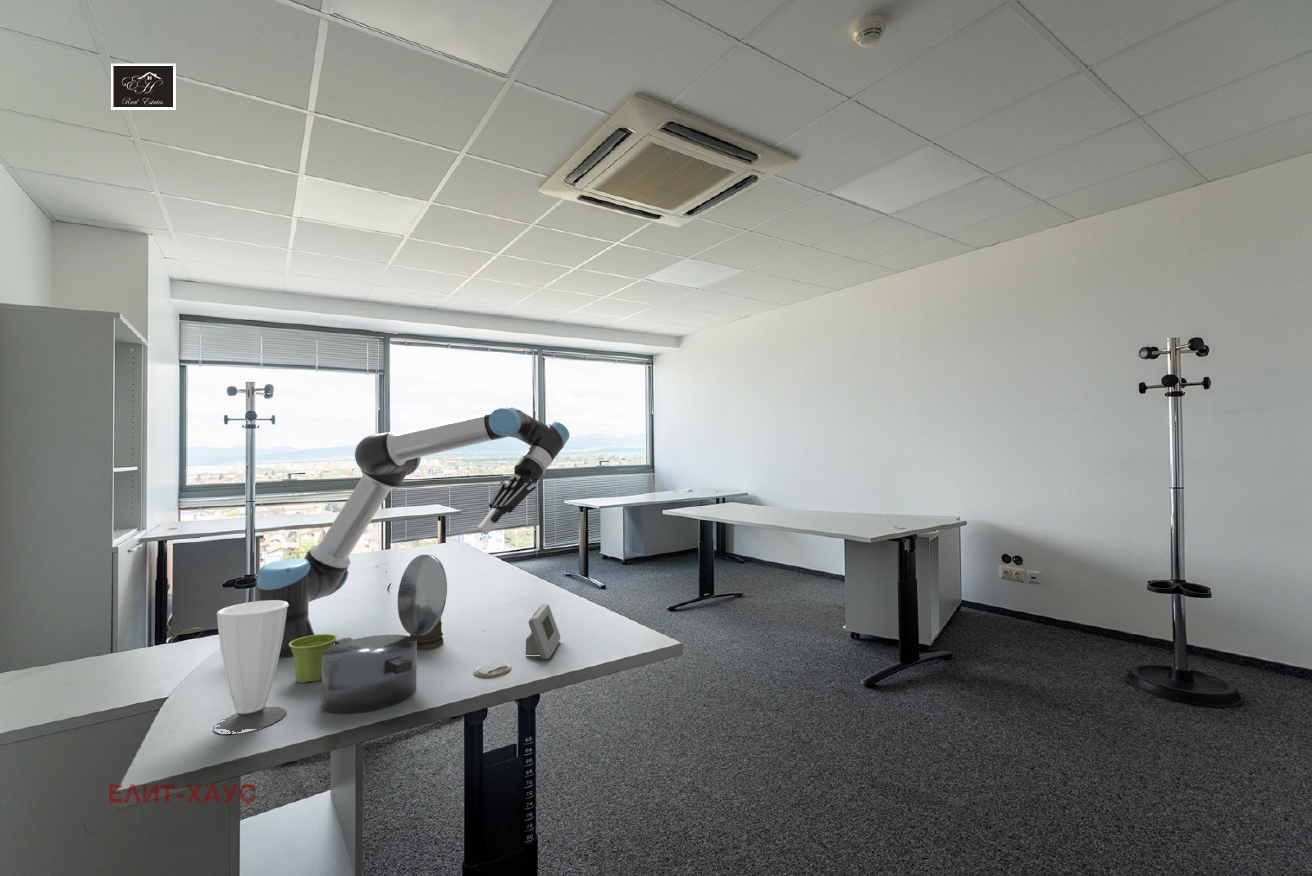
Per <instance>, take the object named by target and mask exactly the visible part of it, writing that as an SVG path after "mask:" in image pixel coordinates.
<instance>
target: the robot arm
mask: <svg viewBox="0 0 1312 876" xmlns="http://www.w3.org/2000/svg"><path fill="white" fill-rule="evenodd" d="M504 438H515V439H516V440H517V439H518V440H519V441H521V442H524V443H525V444H527V445H528V446H529V448H528V450H526V451H525V453H524V454H523V455H522V457H521V458H520V459H519V460H518V462H517V463H516V464H515V466H513V467H514V469H513V470H514V474H513V475H512V476H510V478H508V480H506V481H505V480H501V481H500V482H499V486H498V488H497V490H496V491H495V492H494V495H493V496H492V498H491V500H490V502H489V503H488V507H489V509H490V510H489V512H488V513H487V514H486V516H485V517H484V518H483V519H482V521H481V522H480V523H479V524H478V526H477V529H478V530H480V532H481V533H482V534H483V535H488V534H489V533H490V532H491V531H492V529H493V527H494V526H495V525H496V524H497V522H499V520H500V519H501V517H502V516H503V515H506V513H509V514H510V513H512V512H513V511H514V510H515V509H516V508H517V507H518V506H519V504H520V503H522V501H524V499H525V498H526V497H527V496H528V495H529V494H530V493H532V492H533V491H534V490H536V488H537V486H535V484H536V483H538V482H539V480H540V479H541V477H542V476H543V475H544V473H545V472H546V470H547V469H548V468H549V466H550V465H551V464H552V462H553V461H554V459H555V458H556V457H557V456H558V454H560V452H561V451H562V450H563V449H564V447H565V445H566V443H567V442H568V440H569V439H570V431H569V430H568V428H567V427H566V426H565V425H564V424H562V423H561V422H559V421H554V420H553V421H551V422H549V423H548V424H545V423H543V422H541V421H539V420H537V419H535V418H534V417H532V416H530V415H528V414H527V413H525V412H523V411H522V410H520V409H517V408H515V407H512V406H510V407H504V406H503V407H498V408H496V409H494V410H493V411H490V412H489V413H482V414H479V415H478V414H477V415H473V416H468V417H465V418H460V419H457V420H453V421H448V422H443V423H440V424H435V425H430V426H426V427H422V428H417V429H413V430H409V431H404V432H401V433H400V432H397V431H395V430H392V431H388V432H382V433H376V434H370V435H368V436H366V437H363V439H361V440H360V442H358V444H357V445H356V448H355V451H354V459H355V463H356V464H357V466H358V468H360V471H361V473H362V474H361V475H362V477H361V478H360V480H359V481H358V483H357V484H356V486H355V488H354V489H353V491H352V493H351V494H350V496H349V497H348V499H347V500H346V502H345V503H344V505H343V507H342V508H341V510H340V511H339V513H338V515H337V516H336V518H335V519H334V521H333V522H332V523H331V526H330V527H329V529H328V530H327V532H326V534H325V535H324V537H323V538H322V540H321V541H320V543H318V544H316V545H315V544H314V545H312V546H311V547H310V548H309V550H308V552H307V553H306V554H305V556H304V558H303V557H301V558H300V557H295V558H284V559H281V560H276V561H272V562H269V563H266V564H265V565H263V566H261V567H260V568H259V570H258V573H257V580H256V582H255V583H256V602H257V601H269V600H279V601H286V602H287V603H288V604H289V606H288V607H287V614H286V621H285V628H284V634H283V640H282V645H281V650H280V654H279V657H280V658H286V657H290V656H293V653H292V651H291V647H289V643H290V642H292V641H293V640H296V639H299V638H302V637H306V636H312V635H316V633H315V632H314V629H313V626H312V624H311V622H310V618H309V604H310V602H313V601H317V600H318V599H322V598H324V597H328V596H331V595H333V594H334V593H336V592H337V591H338V590H340V589H341V588H342V587H343V586H344V585H345V584H346V581H347V580H348V576H349V570H348V569H349V567H350V565H351V559H350V557H349V556H350V555H351V554H352V551H353V550H354V548H355V547H356V545H357V543H358V542H359V541H360V539H361V538H362V536H363V534H364V533H365V531H366V529H367V528H368V526H369V524H370V523H371V522H372V520H373V518H374V517H375V515H376V513H377V512H378V511H379V509H380V507H381V506H382V504H383V503H384V501H385V500H386V498H387V496H388V495H389V492H390V491H391V490H394V489H397V488H399V487H400V485H402V482H403V481H404V479H406V478H405V477H406V476H409V475H410V474H412V473H414V472H415V471H416V470H417V469H418V468H419V466H420V463H421V458H422V457H426V456H430V455H434V454H438V453H442V452H447V451H448V452H449V451H452V450H456V449H460V448H465V447H469V446H473V445H477V444H480V443H481V444H482V443H486V442H490V441H495V440H496V441H497V440H500V439H504Z"/></svg>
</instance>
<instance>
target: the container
mask: <svg viewBox="0 0 1312 876" xmlns="http://www.w3.org/2000/svg"><path fill="white" fill-rule="evenodd" d="M442 624H443V623H442V617H441V618H440V620H439V622H438V623H437V625H436V626H435V627H434V628H433V630H431V631H430V632H429V633H427V634H425V635H416V636H415V635H411V634H409V636H410V637H413V638H415V639H416V640H417V651H425V650H426V651H427V650H430V649H431V650H432V649H434V648H437V647H440V646H441V645H444V638H443V635H444V633H443V632H442Z"/></svg>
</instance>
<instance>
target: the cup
mask: <svg viewBox="0 0 1312 876" xmlns="http://www.w3.org/2000/svg"><path fill="white" fill-rule="evenodd" d="M288 606H289V604H288V603H287V602H286V601H279V600H269V601H257V600H256V601H251V602H244V603H238V604H234V605H231V606H225V607H224V608H222V609H220V610H218V611H217V612H216V618H217V619H216V620H217V629H218V637H219V639H218V640H219V646H220V648H219V649H220V654H221V659H222V664H223V665H222V666H223V669H224V675H225V680H226V684H227V687H228V691H229V696H230V698H231V701H232V704H233V706H234V707H233V708H234V710H235V713H234V714H231V715H230V716H231V717H229V718H228V716H227V718H226V717H225V718H226V719H224V718H223V719H222V720H225V721H223V722H220V723H218V722H217V723H218V724H217V723H216V724H215V725H220V727H219V726H218V727H216V729H226V730H229V731H230V732H231V733H230V734H232V733H233V732H232V731H234V732H236V733H237V732H241V731H242V729H243V730H245V729H260V728H262V727H265V726H267V725H270V726H272V724H273V725H274V723H275V722H276V723H278V722H279V721H278V720H280V721H281V719H282V718H283V719H284V717H285V716H286V715H287V710H286V709H285V708H282V707H280V706H267V701H268V698H269V695H270V693H271V691H272V687H273V683H274V680H275V675H276V670H277V667H278V664H279V659H280V658H279V654H280V650H281V645H282V640H283V634H284V628H285V621H286V614H287V607H288ZM277 721H278V722H277ZM276 723H275V724H276ZM213 727H214V726H213ZM265 728H266V727H265ZM214 729H215V727H214ZM262 729H263V728H262ZM260 730H261V729H260ZM221 732H223V731H221ZM227 733H228V732H227Z"/></svg>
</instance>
